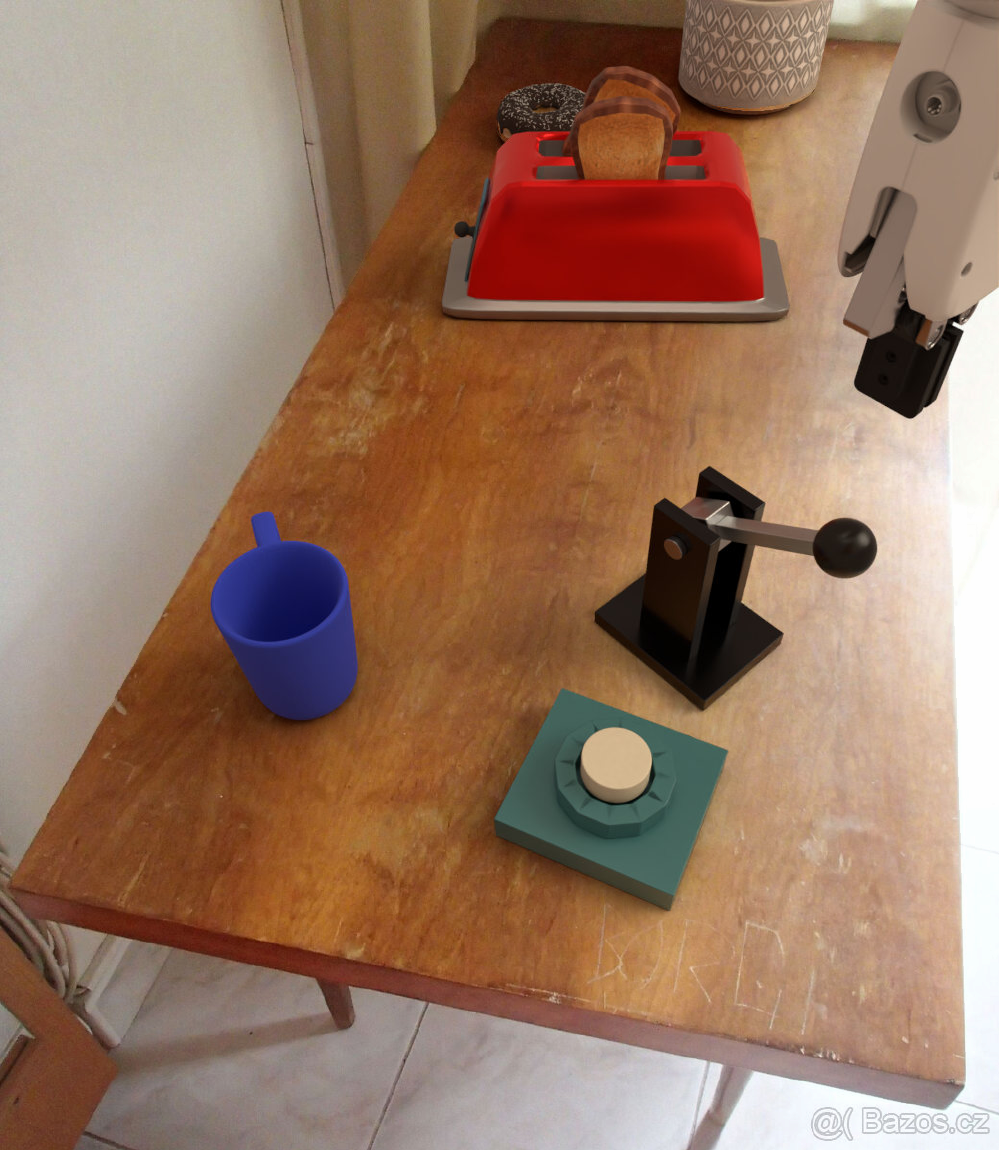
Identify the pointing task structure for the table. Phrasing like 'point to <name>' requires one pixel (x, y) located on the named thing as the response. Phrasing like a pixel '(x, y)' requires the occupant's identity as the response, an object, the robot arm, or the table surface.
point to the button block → (612, 830)
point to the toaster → (617, 221)
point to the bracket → (694, 600)
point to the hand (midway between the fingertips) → (892, 395)
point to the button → (615, 765)
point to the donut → (539, 109)
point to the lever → (794, 537)
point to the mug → (288, 623)
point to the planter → (752, 51)
